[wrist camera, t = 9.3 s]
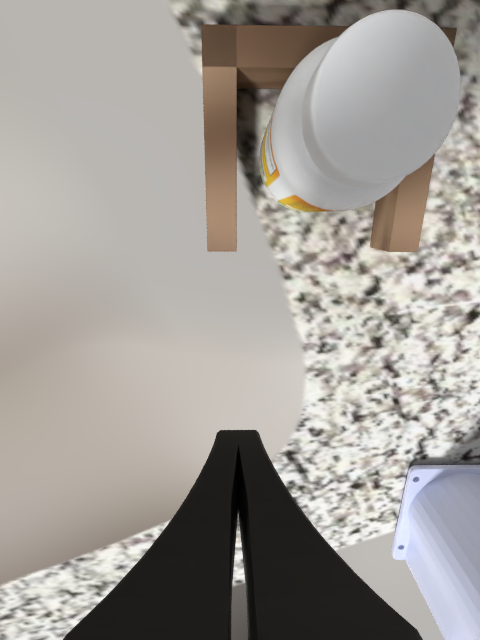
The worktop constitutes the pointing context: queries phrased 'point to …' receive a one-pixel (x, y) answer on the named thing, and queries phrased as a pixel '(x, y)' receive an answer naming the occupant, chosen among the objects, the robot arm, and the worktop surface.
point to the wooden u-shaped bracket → (272, 73)
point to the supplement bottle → (361, 113)
